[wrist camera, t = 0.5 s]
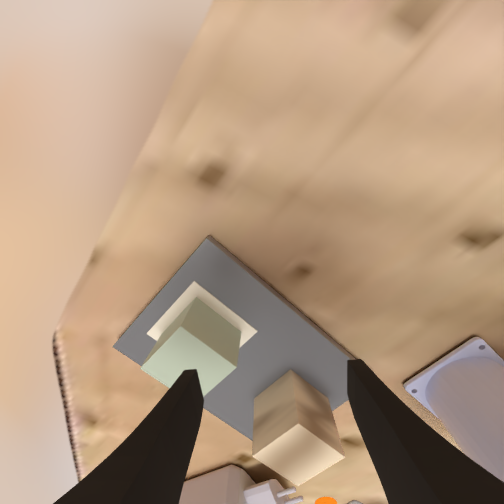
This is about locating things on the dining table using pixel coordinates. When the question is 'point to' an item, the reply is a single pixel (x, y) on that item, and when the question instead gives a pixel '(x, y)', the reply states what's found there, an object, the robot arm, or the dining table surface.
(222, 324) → the sage base block
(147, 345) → the board
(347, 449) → the dining table surface
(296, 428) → the maple block
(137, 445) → the robot arm
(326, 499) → the key chain
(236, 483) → the charger
